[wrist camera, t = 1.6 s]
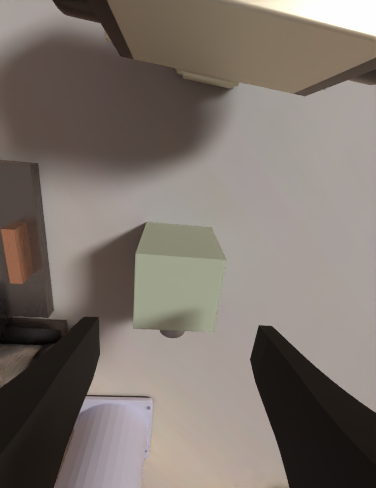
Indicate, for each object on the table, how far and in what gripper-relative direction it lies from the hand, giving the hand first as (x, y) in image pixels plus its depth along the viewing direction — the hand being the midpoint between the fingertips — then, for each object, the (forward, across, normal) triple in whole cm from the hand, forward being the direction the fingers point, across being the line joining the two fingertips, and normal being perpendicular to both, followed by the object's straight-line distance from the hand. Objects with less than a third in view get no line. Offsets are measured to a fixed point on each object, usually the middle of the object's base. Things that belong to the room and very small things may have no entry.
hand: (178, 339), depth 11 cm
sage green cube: (+10, 0, 0) cm, 10 cm away
